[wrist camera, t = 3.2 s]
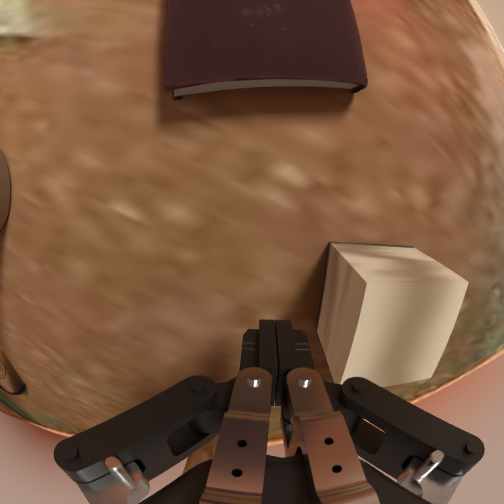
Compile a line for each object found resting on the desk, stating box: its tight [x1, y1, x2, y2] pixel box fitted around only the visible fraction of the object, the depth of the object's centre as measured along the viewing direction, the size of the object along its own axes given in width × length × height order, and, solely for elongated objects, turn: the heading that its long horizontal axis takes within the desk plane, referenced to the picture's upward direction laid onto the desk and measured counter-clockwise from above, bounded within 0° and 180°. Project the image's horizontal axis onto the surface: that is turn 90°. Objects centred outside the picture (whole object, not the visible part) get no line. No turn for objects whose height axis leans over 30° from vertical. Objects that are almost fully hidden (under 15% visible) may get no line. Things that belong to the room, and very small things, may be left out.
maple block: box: [316, 242, 468, 387], centre depth 16 cm, size 7×7×7 cm
